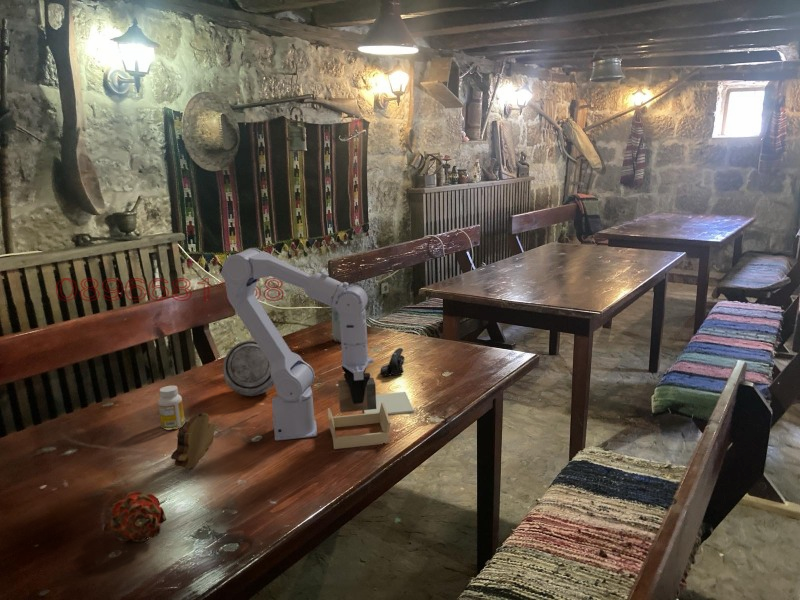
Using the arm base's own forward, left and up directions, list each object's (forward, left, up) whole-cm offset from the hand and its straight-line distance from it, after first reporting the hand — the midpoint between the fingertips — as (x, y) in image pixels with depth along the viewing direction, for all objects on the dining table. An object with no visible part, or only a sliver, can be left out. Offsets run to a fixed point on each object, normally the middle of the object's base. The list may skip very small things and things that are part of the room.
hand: (357, 398), depth 137 cm
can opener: (+15, +41, -9) cm, 45 cm away
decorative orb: (-25, +31, -9) cm, 41 cm away
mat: (+9, +15, -9) cm, 19 cm away
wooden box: (0, 0, -9) cm, 9 cm away
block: (0, 0, -2) cm, 2 cm away
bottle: (+2, +72, -9) cm, 73 cm away
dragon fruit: (-41, -29, -9) cm, 51 cm away
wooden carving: (-35, -4, -9) cm, 37 cm away
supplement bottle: (-43, +15, -9) cm, 47 cm away
